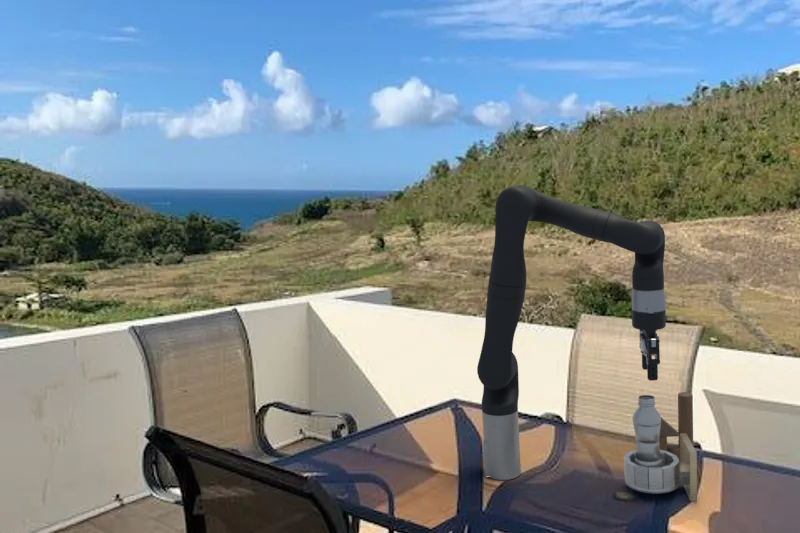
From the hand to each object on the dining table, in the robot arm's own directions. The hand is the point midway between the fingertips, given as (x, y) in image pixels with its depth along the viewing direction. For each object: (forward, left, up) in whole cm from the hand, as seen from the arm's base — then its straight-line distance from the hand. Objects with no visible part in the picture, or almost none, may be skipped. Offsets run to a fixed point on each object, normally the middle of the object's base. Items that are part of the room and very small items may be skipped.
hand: (649, 374), depth 188 cm
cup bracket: (+1, 0, -29) cm, 29 cm away
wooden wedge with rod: (+8, +18, -29) cm, 35 cm away
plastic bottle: (-1, +1, -26) cm, 26 cm away
